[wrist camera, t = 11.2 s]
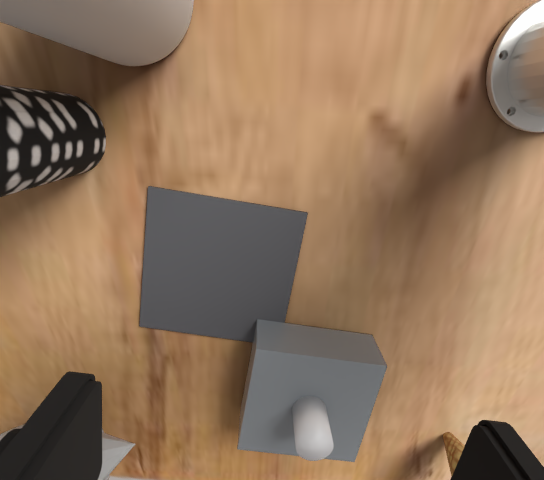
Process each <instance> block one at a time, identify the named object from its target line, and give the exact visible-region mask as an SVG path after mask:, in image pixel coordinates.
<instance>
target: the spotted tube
mask: <svg viewBox="0 0 544 480" xmlns="http://www.w3.org/2000/svg"><path fill="white" fill-rule="evenodd" d="M105 146H106V135H105V130H104V127H103V124H102V122H101V120H100V118H99V116H98V115H97V113H96V112H95V111H94V110H93V108H92V107H91V106H89V105H88V104H87V103H86V102H85V101H83V100H81V99H80V98H78V97H76V96H73V95H70V94H66V93H59V92H51V91H43V90H35V89H27V88H19V87H11V86H3V85H0V197H2V196H6V195H9V194H13V193H16V192H19V191H23V190H26V189H30V188H33V187H36V186H40V185H43V184H47V183H50V182H54V181H57V180H60V179H64V178H67V177H71V176H74V175H77V174H81V173H84V172H87V171H89V170H91V169H92V168H93V167H95V166H96V165H97V164H98V163H99V161H100V160H101V158H102V156H103V154H104V151H105Z"/></svg>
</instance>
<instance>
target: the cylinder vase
mask: <svg viewBox="0 0 544 480" xmlns="http://www.w3.org/2000/svg"><path fill="white" fill-rule="evenodd" d="M193 3H194V0H0V22H2V23H5V24H8V25H11V26H13V27H16V28H19V29H22V30H25V31H27V32H30V33H33V34H36V35H38V36H41V37H44V38H47V39H50V40H52V41H55V42H58V43H61V44H63V45H66V46H69V47H72V48H74V49H77V50H80V51H83V52H86V53H88V54H91V55H94V56H97V57H99V58H102V59H105V60H108V61H111V62H113V63H116V64H120V65H125V66H143V65H148V64H152V63H155V62H157V61H159V60H161V59H163V58H164V57H166V56H167V55H169V54H170V53H171V52H172V51H173V50H174V49H175V48H176V47H177V46H178V45H179V43H180V42H181V41H182V39H183V37H184V36H185V34H186V32H187V29H188V27H189V24H190V21H191V17H192V12H193Z"/></svg>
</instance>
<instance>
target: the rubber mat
mask: <svg viewBox="0 0 544 480" xmlns="http://www.w3.org/2000/svg"><path fill="white" fill-rule="evenodd" d="M307 214H308V213H307V212H301V211H295V210H289V209H283V208H278V207H272V206H266V205H260V204H254V203H248V202H242V201H236V200H230V199H224V198H218V197H212V196H206V195H200V194H194V193H188V192H182V191H176V190H170V189H164V188H158V187H152V186H149V187H148V198H147V214H146V229H145V245H144V261H143V277H142V293H141V309H140V325H139V326H140V327H147V328H154V329H161V330H168V331H175V332H182V333H190V334H197V335H204V336H211V337H218V338H225V339H232V340H239V341H246V342H253V339H254V334H255V328H256V323H257V319H260V320H267V321H275V322H282V323H285V318H286V314H287V309H288V304H289V299H290V295H291V290H292V285H293V281H294V276H295V271H296V266H297V262H298V257H299V252H300V247H301V243H302V238H303V233H304V229H305V224H306V219H307Z"/></svg>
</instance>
